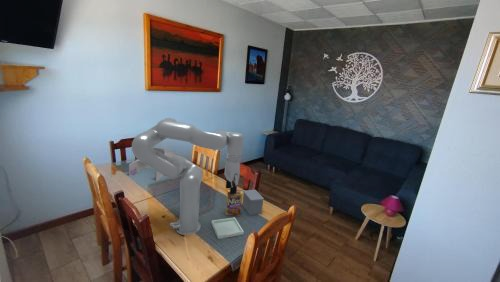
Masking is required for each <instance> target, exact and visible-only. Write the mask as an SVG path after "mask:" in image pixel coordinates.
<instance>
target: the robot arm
mask: <svg viewBox="0 0 500 282" xmlns="http://www.w3.org/2000/svg"><path fill="white" fill-rule="evenodd" d="M166 139H170V140H173V141H174V140H176V141H181V142H184V143H185V142H186V143H190V144H192V145H194V146H196V147H200V148H202V149H209V150H219V151H220V150H222V149H224V148H225V147H226V152H225V153H226V155H225V156H226V157H225V165H224V177H225V179H226V182H225V188H226V189H230V194H236V191H237V190H238V188H237V187H238V185H239V180H240V175H241V172H240V171H241V162H242V156H243V155H242V154H243V144H244V134H242V133H241V132H238V131H237V132H235V131H226V130H222V129H217V130H216V131H214V132H208V131H204V130H201V129H199V128H197V127H196V126H195V125H193V124H190V123H185V122H180V121H177V120H176V119H175V118H171V117H167V118H164V119H161V120H160V121H158V122H157V124H155V125H154V126H153V127H151V128H149V129H146V130H144V131H143V132H141V133H139V134H138V135H136V136H135V137H134V138H133V140H132V141H131V152H132V154H133V156H134V157H135V158H136V160H139V161H141V162H142V163H144V164H146V165H148V166H150V168H151V169H153V170H154V171H155V172H156V171H157V172H159V173H161V174H162V175H164V176H163V177H165V178H167V179H170V180H176V179H178V178H179V177H180V176H181V177H180V178H181V179H180V180H179V181H180V182H179V195H180V197H179V218H178V219H177V220H176V221H174V222H170V223H169V228H171V227H172V229H173V230H174V229H175V230H176V232H177V233H178V234H180V235H181V236H185V235H193V234H195V233H197V232H199V231H200V230H201V227H202V226H201V223H200V222H199V213H200V196H201V195H200V194H201V193H200V191H201V189H200V188H201V182H202V180H203V177H204V172H203V170H202V169H201V168H200V167H199V166H198V165H196V164H195V163H193V162H192V161H190V160H188V159H187V158H185V157H184V156H181V155H176V154H175V155H172V156H170V157H169V155H168V156H166V155H164V154H163V153H161V152H159V151H156V150H154V149H153V147H155V146H157V145H158V144H160V143H161V142H163V141H165V140H166Z"/></svg>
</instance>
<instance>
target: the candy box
mask: <svg viewBox="0 0 500 282" xmlns="http://www.w3.org/2000/svg"><path fill="white" fill-rule="evenodd" d="M227 189H228V190H227V193H226V205H225V212H224V213H225V215H226V216H233V217H241V211H242V203H243V194H244V192H243V191H244V190H240V189H237V191H236V194H230V188H227Z"/></svg>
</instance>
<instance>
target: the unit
mask: <svg viewBox="0 0 500 282" xmlns="http://www.w3.org/2000/svg"><path fill="white" fill-rule="evenodd" d="M264 201H265V198H264V197H263V196H262V195H261V194H260V193H259V192H258V191H257V190H256V189H248V190H247V189H246V190H243V195H242V204H241V206H243V208H244V209H245V211H246V213H247V214H248V216H255V215H261V214H263V204H264Z"/></svg>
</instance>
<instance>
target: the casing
mask: <svg viewBox="0 0 500 282" xmlns="http://www.w3.org/2000/svg"><path fill="white" fill-rule="evenodd" d="M153 149H154V150H156V151H159V152H161V153H163V154H164V155H166V156H168V157H169V155H168V153H167V151H166V150H165V148H162V147H155V146H154V147H153ZM149 167H150V166H148V165H146V164H144V163H142V162H141V161H139V160H138V159H136V160H134V161H132V162H131V163H129V164H128V176H129V175H132V176H133V175H135V174H137V173H138V172H140V171H143V170H145V169H146V168H147V169H149ZM150 168H151V167H150ZM137 171H138V172H137ZM163 177H165V176H164V175H162V174H161V173H159V172H157V171H156V170H155V181H156V182H157V181H159V180H160V179H162V178H163Z"/></svg>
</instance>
